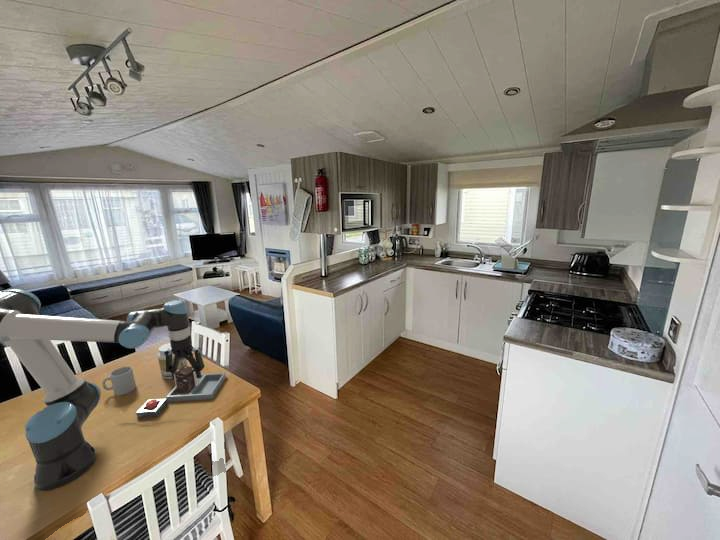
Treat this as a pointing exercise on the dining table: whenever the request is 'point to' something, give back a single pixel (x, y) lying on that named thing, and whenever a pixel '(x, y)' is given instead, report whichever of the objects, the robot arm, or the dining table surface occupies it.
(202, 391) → the pallet
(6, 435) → the dining table surface
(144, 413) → the white square piece
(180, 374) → the box
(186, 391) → the seated block
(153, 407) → the button
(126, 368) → the mug
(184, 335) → the robot arm
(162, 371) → the supplement tub
